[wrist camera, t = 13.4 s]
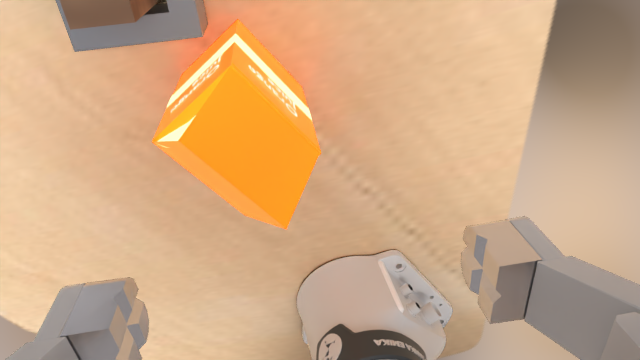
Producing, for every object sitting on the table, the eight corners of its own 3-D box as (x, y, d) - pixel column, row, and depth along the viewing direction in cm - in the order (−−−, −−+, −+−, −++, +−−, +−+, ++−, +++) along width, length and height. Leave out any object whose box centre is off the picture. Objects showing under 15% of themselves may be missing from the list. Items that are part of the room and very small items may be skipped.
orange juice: (238, 17, 40) (227, 91, 23) (303, 86, 44) (336, 193, 27) (179, 75, 42) (129, 184, 25) (247, 136, 46) (244, 266, 29)
